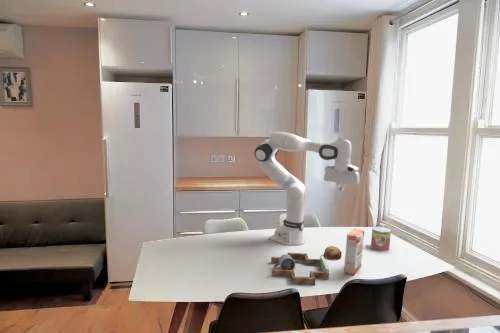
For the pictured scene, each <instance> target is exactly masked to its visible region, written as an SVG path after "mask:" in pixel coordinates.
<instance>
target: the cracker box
mask: <svg viewBox="0 0 500 333" xmlns="http://www.w3.org/2000/svg"><path fill="white" fill-rule="evenodd" d="M364 238H365V230H364V229H358V228H353V229H352V230H351V231H350V232H348V233H347V235H346V241H345V243H346V244H345V254H344V255H345V256H344V257H345V258H344V266H343V273H345V274H349V275H353V276H354V275H355V274H356V273H357V272H358V271H359V270H360V269H361V267H362V259H363V250H364V249H363V248H364V240H365V239H364Z"/></svg>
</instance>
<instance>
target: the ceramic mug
mask: <svg viewBox="0 0 500 333" xmlns="http://www.w3.org/2000/svg"><path fill="white" fill-rule="evenodd" d="M287 254H288V253H287ZM287 254H286V253H285V254H282V255H281V256H279V257H280V258H279V262H278V263H274V264H273V269H279V270H294V269H295V267H296V263H295V262H294V260H293V259H292V257H291V256H289V255H287Z"/></svg>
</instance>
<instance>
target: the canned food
mask: <svg viewBox="0 0 500 333" xmlns="http://www.w3.org/2000/svg"><path fill="white" fill-rule="evenodd" d="M371 230H372V231H371V241H370V247H371V249H374V250H375V251H376V250H377V251H381V252H382V251H384V252H385V251H389V250H390V245H391V234H392V230H391V229H390V228H388V227H384V226H373V227H372V228H371Z"/></svg>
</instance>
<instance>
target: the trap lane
mask: <svg viewBox="0 0 500 333" xmlns="http://www.w3.org/2000/svg"><path fill="white" fill-rule="evenodd" d="M287 255H289V256H291V257H292V259H293V260H294V262H295V264H305V266H320V264H321V260H320V258H309V256H308V254H307V253H303V252H302V253H301V252H287ZM280 257H281V256H271V257H270V258H271V259H270V264H276V263H278V262H279V258H280ZM295 274H296V273H295V270H294V269H293V270H282V269H280V270H279V269H274V268H272V269H271V276H272V277H284V278H290V279H291V284H292V285H307V286H308V285H309V286H310V285H311V286H315V285H316V279H325V280H329V279H330V272H329V273H326V272H323V271H320V270H319V271H318V270H317V271H316V270H310V271H309V276H296V275H295Z"/></svg>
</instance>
